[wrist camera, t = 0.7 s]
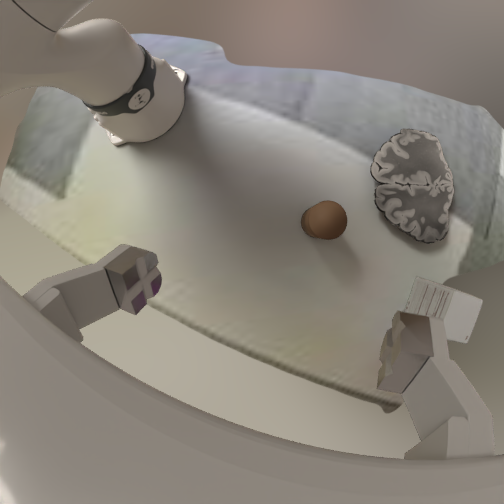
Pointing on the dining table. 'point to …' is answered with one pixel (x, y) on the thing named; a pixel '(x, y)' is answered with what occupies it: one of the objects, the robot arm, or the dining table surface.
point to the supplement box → (445, 307)
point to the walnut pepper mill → (324, 220)
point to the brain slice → (414, 184)
